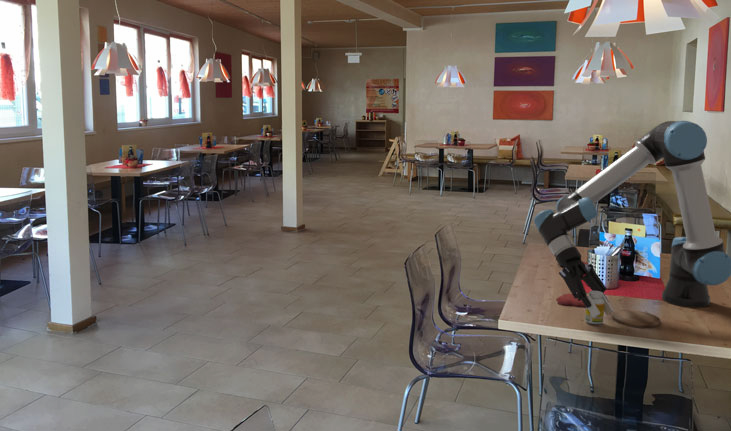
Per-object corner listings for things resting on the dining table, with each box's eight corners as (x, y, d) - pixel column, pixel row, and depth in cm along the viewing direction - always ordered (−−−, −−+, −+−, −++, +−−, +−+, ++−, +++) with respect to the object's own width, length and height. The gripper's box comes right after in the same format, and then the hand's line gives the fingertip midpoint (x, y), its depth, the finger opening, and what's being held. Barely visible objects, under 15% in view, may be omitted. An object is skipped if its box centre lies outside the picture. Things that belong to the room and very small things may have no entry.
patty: (554, 306, 213) (554, 300, 213) (558, 295, 226) (558, 290, 225) (608, 312, 206) (609, 307, 206) (609, 301, 219) (610, 296, 219)
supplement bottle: (582, 321, 194) (584, 292, 192) (589, 318, 198) (591, 288, 196) (599, 325, 190) (601, 295, 189) (605, 321, 194) (608, 292, 193)
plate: (639, 312, 206) (639, 308, 206) (669, 325, 192) (670, 321, 192) (602, 315, 202) (603, 311, 202) (631, 329, 189) (632, 324, 189)
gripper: (577, 255, 209) (615, 315, 198) (538, 261, 200) (575, 324, 189) (591, 243, 204) (631, 303, 192) (551, 248, 195) (591, 312, 183)
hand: (603, 314), depth 191 cm, fingers closed on supplement bottle, 5 cm apart
